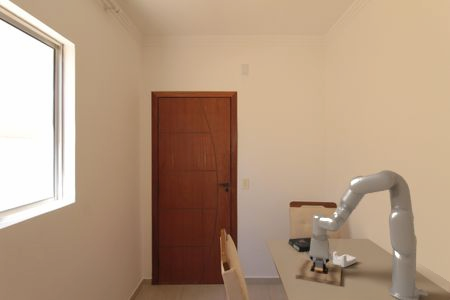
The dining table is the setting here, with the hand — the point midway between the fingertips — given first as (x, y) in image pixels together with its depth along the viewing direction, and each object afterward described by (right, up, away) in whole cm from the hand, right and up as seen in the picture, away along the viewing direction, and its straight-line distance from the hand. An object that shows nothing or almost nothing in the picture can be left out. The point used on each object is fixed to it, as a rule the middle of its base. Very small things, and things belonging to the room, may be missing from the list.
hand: (319, 269), depth 159 cm
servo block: (0, -1, 0) cm, 1 cm away
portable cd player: (+3, -2, +40) cm, 40 cm away
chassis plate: (0, -2, 0) cm, 2 cm away
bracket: (+19, -2, +13) cm, 23 cm away
